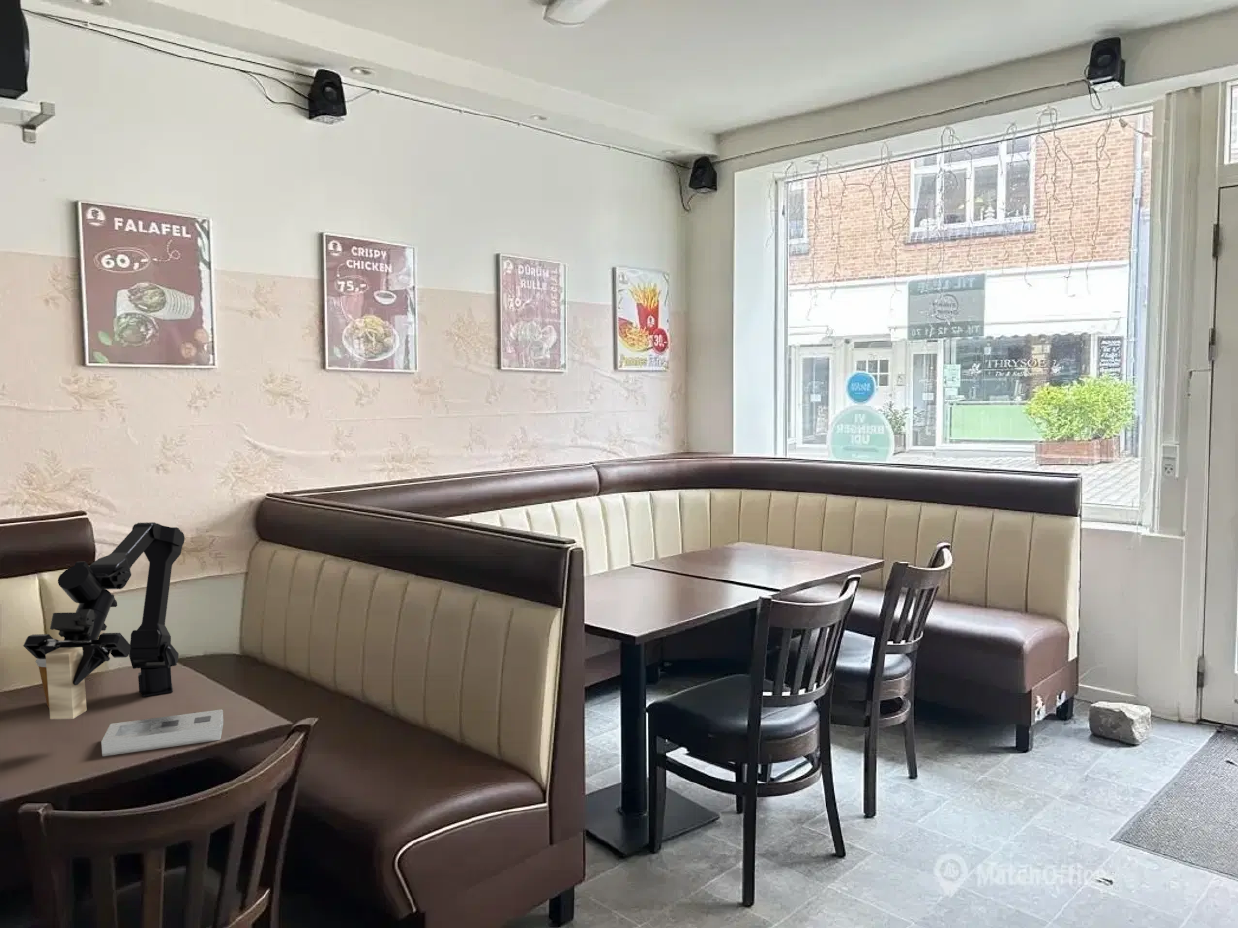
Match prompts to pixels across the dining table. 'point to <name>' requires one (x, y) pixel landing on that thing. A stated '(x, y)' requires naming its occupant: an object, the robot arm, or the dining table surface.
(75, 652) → the beech peg
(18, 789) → the dining table surface
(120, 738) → the white flat block
